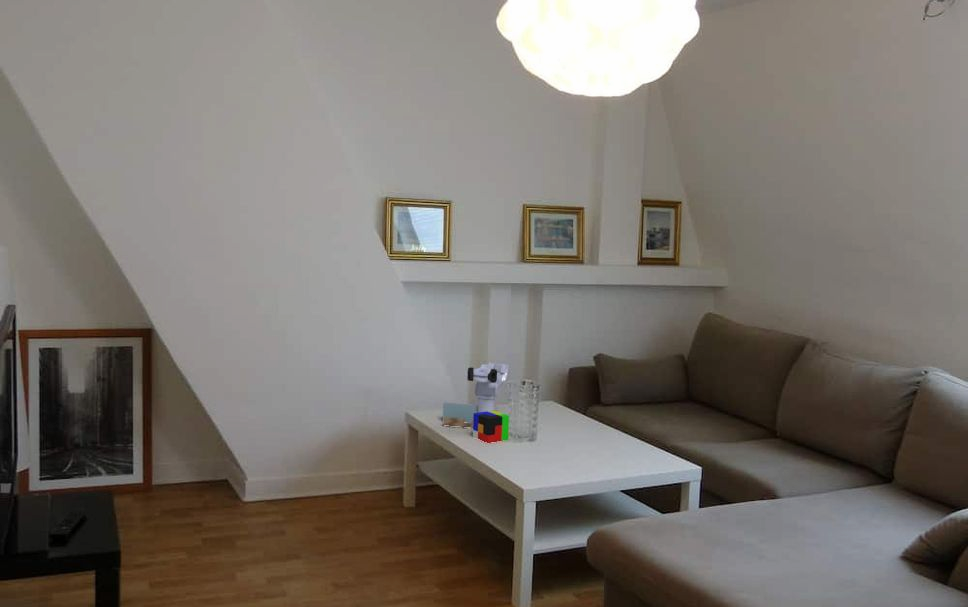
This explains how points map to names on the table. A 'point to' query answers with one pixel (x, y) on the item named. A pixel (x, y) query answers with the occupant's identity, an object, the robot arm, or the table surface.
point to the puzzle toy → (491, 426)
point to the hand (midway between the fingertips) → (479, 376)
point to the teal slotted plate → (459, 411)
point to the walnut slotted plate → (457, 422)
